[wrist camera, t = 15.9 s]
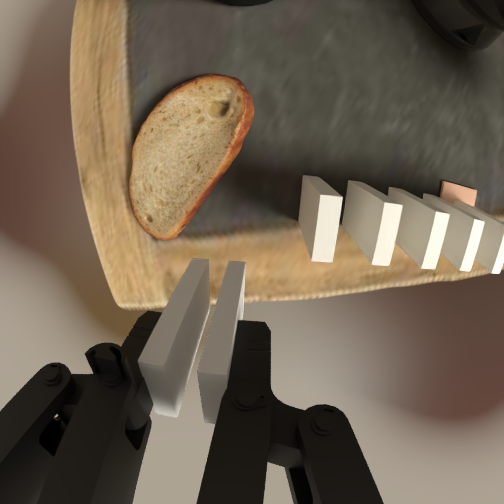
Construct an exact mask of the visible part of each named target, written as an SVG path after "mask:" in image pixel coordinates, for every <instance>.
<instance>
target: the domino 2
mask: <svg viewBox="0 0 504 504" xmlns="http://www.w3.org/2000/svg"><path fill="white" fill-rule="evenodd" d="M402 207H403V205H402V204H400V203H398V202H397V201H395V200H393V199H392V198H390V197H388V196H387V195H385V194H383V193H381V192H379V191H378V190H376V189H374V188H372V187H370V186H369V185H367V184H365V183H363V182H359V181H352V180H348V185H347V193H346V200H345V207H344V214H343V221H342V226H343V227H344V228H345V230H346V231H347V232H348V234H349V235H350V236H351V237H352V239H353V240H354V241H355V243H356V244H357V245H358V247H359V248H360V250H361V251H362V252H363V254H364V255H365V256H366V258H367V259H368V261H369V262H370V263H371V265H382V266H389V264H390V260H391V257H392V253H393V249H394V245H395V240H396V236H397V232H398V227H399V222H400V217H401V212H402Z"/></svg>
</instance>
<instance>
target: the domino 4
mask: <svg viewBox="0 0 504 504" xmlns="http://www.w3.org/2000/svg"><path fill="white" fill-rule="evenodd" d="M423 200H425V201H427V202H428V203H430V204H432V205H434V206H436V207H438V208H440V209H442V210H443V211H445V212H447V213H449V214H450V216H449V220H448V225H447V229H446V233H445V237H444V240H443V244H442V248H441V251H440V254H441V255H443V256H444V257H445V258H446V259H447V260H448V261H449V262H451V263H452V264H453V265H454V266H455V267H456V268H457V269H458V270H460V271H470V270H471V267H472V264H473V261H474V258H475V255H476V252H477V249H478V245H479V242H480V238H481V235H482V231H483V227H484V223H485V221H483V220H481V219H480V218H478V217H476V216H474V215H472V214H470V213H469V212H467V211H465V210H463V209H461V208H459V207H457V206H455V205H453V204H451V203H449V202H447V201H445V200H443V199H441V198H439V197H437V196H434V195H431V194H426V193H424V194H423Z"/></svg>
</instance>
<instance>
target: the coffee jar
mask: <svg viewBox="0 0 504 504" xmlns="http://www.w3.org/2000/svg"><path fill="white" fill-rule="evenodd" d="M220 1H222V2H224V3H228V4H233V5H237V6H254V5H259V4H265V3H268V2H270V1H273V0H220Z"/></svg>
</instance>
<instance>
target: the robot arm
mask: <svg viewBox="0 0 504 504" xmlns="http://www.w3.org/2000/svg"><path fill="white" fill-rule="evenodd" d="M412 1H413V3H414V4H415V6H416V8H417V9H418V11H419V12H420V13H421V15H422V16H423V17H424V19H425V20H426V21H427V22H428V23H429V24H430V26H431V27H432V28H433V29H434V30H435V31H436V32H438V33H439V34H440V35H441V36H442V37H443V38H445V39H446V40H447V41H449V42H450V43H452V44H453V45H455V46H457V47H459V48H461V49H464V50H467V51H477V50H481V49H485V48H487V47H488V46H490V45H491V44H492V43H493V42H494V41H495V40H496V39H497V38H498V37H499V36H500V35H501V34H502V33H503V32H504V0H412ZM245 266H246V262H238V261H229V262H228V266H227V269H226V272H225V276H224V279H223V283H222V286H221V289H220V293H219V296H218V300H217V303H216V307H215V310H214V313H213V317H212V320H211V324H210V328H209V331H208V335H207V338H206V342H205V345H204V349H203V353H202V356H201V360H200V363H199V367H198V370H197V374H198V381H199V389H200V396H201V402H202V408H203V414H204V421H205V422H206V423H213V424H215V428H214V433H213V437H212V441H211V445H210V449H209V454H208V458H207V462H206V466H205V470H204V474H203V479H202V483H201V487H200V491H199V496H198V499H197V504H263V499H264V490H265V481H266V471H267V462H270V463H273V464H276V465H279V466H283V467H285V471H286V475H287V479H288V482H289V487H290V491H291V495H292V499H293V502H294V504H384V503H383V501H382V498H381V496H380V494H379V491H378V489H377V486H376V484H375V481H374V479H373V477H372V474H371V472H370V470H369V467H368V465H367V462H366V460H365V458H364V456H363V453H362V451H361V448H360V446H359V444H358V442H357V439H356V437H355V434H354V432H353V430H352V428H351V425H350V423H349V421H348V419H347V417H346V416H345V414H344V413H343V412H342V411H340V410H339V409H338V408H336V407H334V406H330V405H326V404H323V405H315V406H312V407H309V408H308V409H306V410H302V409H298V408H295V407H291V406H289V405H286V404H284V403H282V402H281V401H280V400H278V399H277V398H276V397H275V395H274V394H273V392H272V390H271V331H270V329H269V328H268V326H267V324H266V323H265V322H258V321H245V320H242V318H243V311H244V288H245ZM209 311H210V286H209V259H198V258H193V259H192V261H191V262H190V264H189V266H188V268H187V269H186V271H185V273H184V275H183V276H182V278H181V280H180V282H179V284H178V285H177V287H176V289H175V291H174V293H173V294H172V296H171V298H170V300H169V302H168V304H167V305H166V307H165V309H164V311H163V313H162V312H154V311H147V312H146V313H145V314H143V315H142V316H140V317H139V318H138V320H137V321H136V323H135V325H134V326H133V328H132V330H131V331H130V333H129V336H127V338H126V340H125V341H124V343H123V344H122V346H121V347H120V346H119V345H117V344H114V343H101V344H97V345H95V346H93V347H91V348H90V349H89V350H88V351H87V352H86V353H85V355H86V358H87V360H88V362H89V365H90V367H91V368H92V371H93V374H71V372H70V370H69V369H68V367H66V366H65V365H64V364H61V363H50V364H47V365H45V366H44V367H43V368H41V369H40V370H39V371H38V372H37V373H36V374H35V375H34V376H33V377H32V378H31V379H30V380H29V381H28V382H27V383H26V385H24V387H22V389H20V391H19V392H18V393H17V394H16V395H15V396H14V397H13V398H12V399H11V400H10V401H9V402H8V403H7V404H6V405H5V407H4V408H3V409H2V410H1V411H0V504H132V502H133V498H134V494H135V489H136V485H137V481H138V476H139V472H140V468H141V464H142V460H143V456H144V452H145V449H146V445H147V441H148V437H149V434H150V430H151V424H152V421H151V419H150V416H149V415H150V412H151V410H152V406H153V407H154V409H155V412H156V414H161V415H165V416H170V417H175V418H177V417H178V414H179V410H180V407H181V404H182V400H183V397H184V393H185V390H186V386H187V383H188V380H189V376H190V373H191V370H192V366H193V363H194V359H195V356H196V353H197V349H198V346H199V343H200V340H201V336H202V333H203V330H204V327H205V323H206V320H207V317H208V314H209ZM56 414H58V416H57V417H56V418H54V417H55V415H56Z"/></svg>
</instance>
